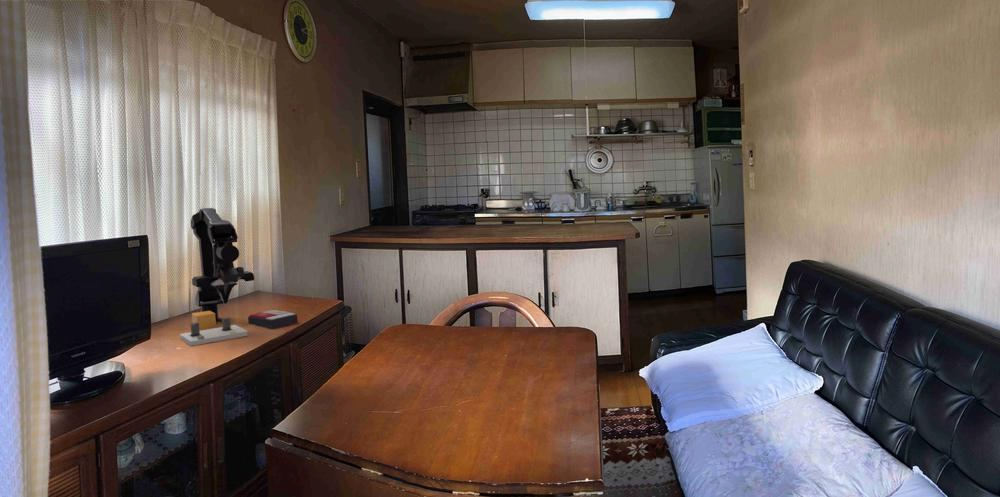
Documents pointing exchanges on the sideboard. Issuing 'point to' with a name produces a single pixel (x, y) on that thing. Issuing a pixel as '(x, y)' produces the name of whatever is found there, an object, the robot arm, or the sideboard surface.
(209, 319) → the light orange cube
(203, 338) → the panel
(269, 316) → the calculator
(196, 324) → the breaker
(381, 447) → the sideboard surface
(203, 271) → the robot arm
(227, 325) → the lever
